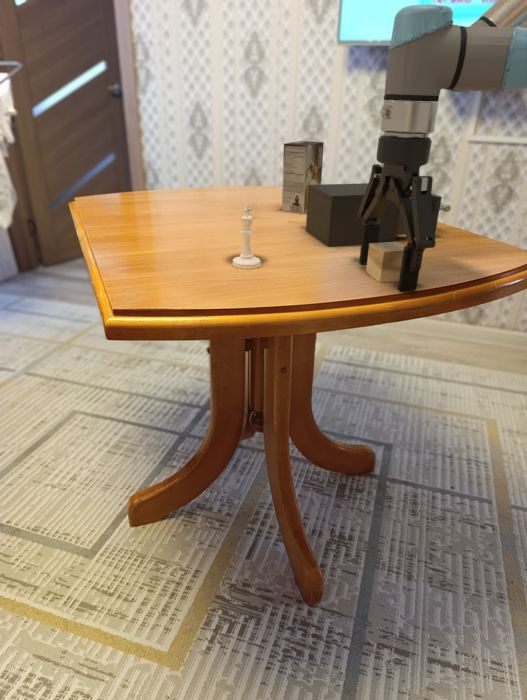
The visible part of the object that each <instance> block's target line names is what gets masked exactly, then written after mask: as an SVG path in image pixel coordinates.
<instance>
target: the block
mask: <svg viewBox="0 0 527 700" xmlns="http://www.w3.org/2000/svg"><path fill="white" fill-rule="evenodd" d="M405 246H406V245H404V244H402V243H400V242H398V241H396V242H383V243H369V251H368V259H367V264H366V268H365V273H366V274H367V275H368V276H370V278H372V279H374V280H376V281H377V282H378V283H390V282H391V283H392V282H399V278H400V271H401V265H402V258H403V252H404V247H405Z"/></svg>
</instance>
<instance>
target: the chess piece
mask: <svg viewBox="0 0 527 700" xmlns="http://www.w3.org/2000/svg"><path fill="white" fill-rule="evenodd" d="M252 209H253V208H251V207H250V204H245V206H244V208H242V213H244V215H242V216H240V220H241V223H242V227H243V229H241V230H240V234H243V241H242V248H241V249H242V250H241V253H240V254H239V256H236V257H234V258H233V259H232V263H231V265H232V266H233V267H235V268H238V269H245V270H246V269H247V270H248V269H256V268H259V267H261V266H262V263H261V261H262V260H261V259H260V258H259V257H256V256H254V254H253V253H252V245H251V236H250V235H251V234H254V230H253V229H251V226H252V224H253V223H252V222H253V220H254V217H253V216H252V215H250V212H252V211H253V210H252Z"/></svg>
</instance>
